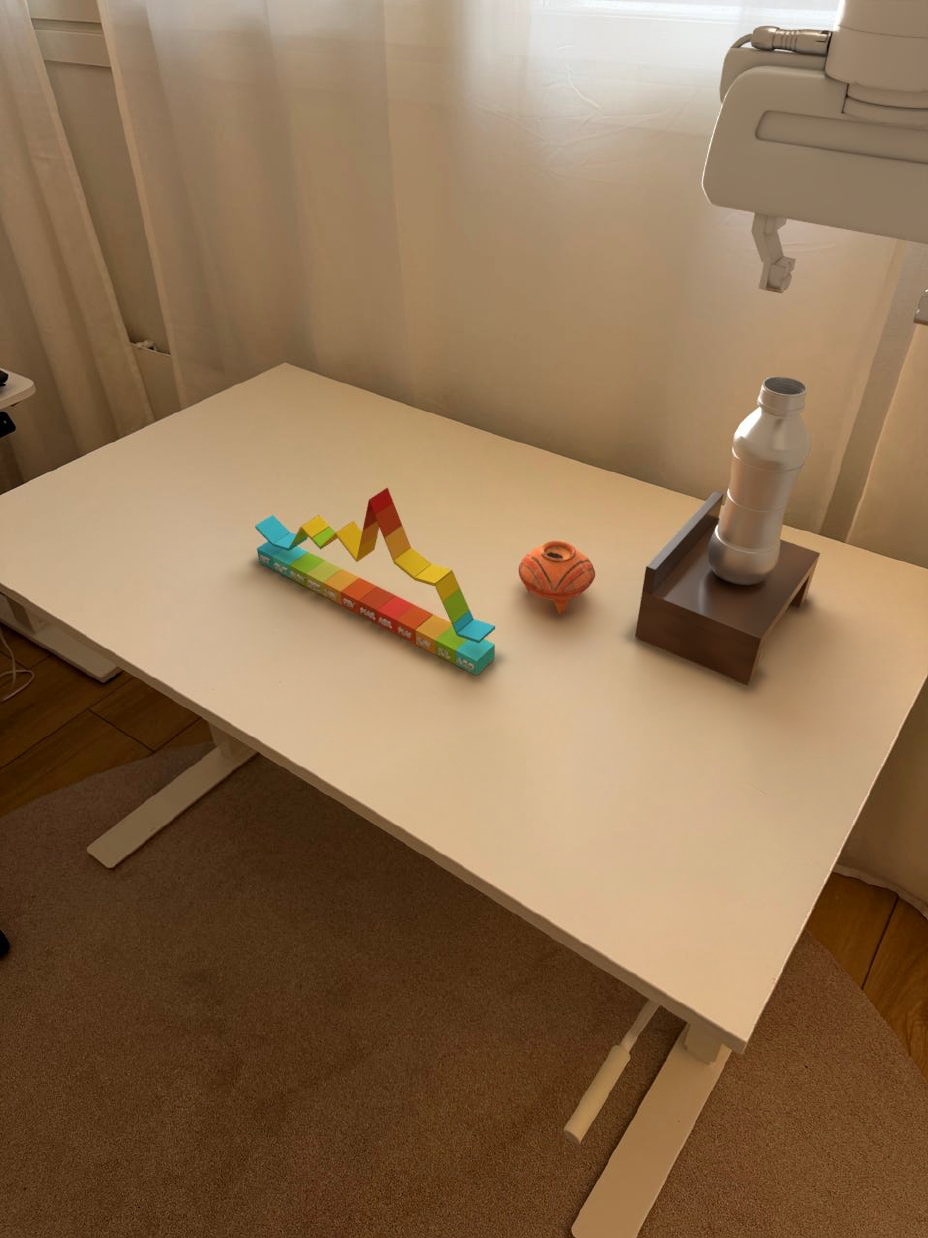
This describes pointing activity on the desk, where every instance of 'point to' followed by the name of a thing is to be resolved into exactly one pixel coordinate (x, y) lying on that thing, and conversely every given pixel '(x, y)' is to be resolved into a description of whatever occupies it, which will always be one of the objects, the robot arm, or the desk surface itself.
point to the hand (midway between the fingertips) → (847, 305)
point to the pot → (556, 572)
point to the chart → (372, 602)
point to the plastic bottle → (761, 483)
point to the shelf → (716, 600)
